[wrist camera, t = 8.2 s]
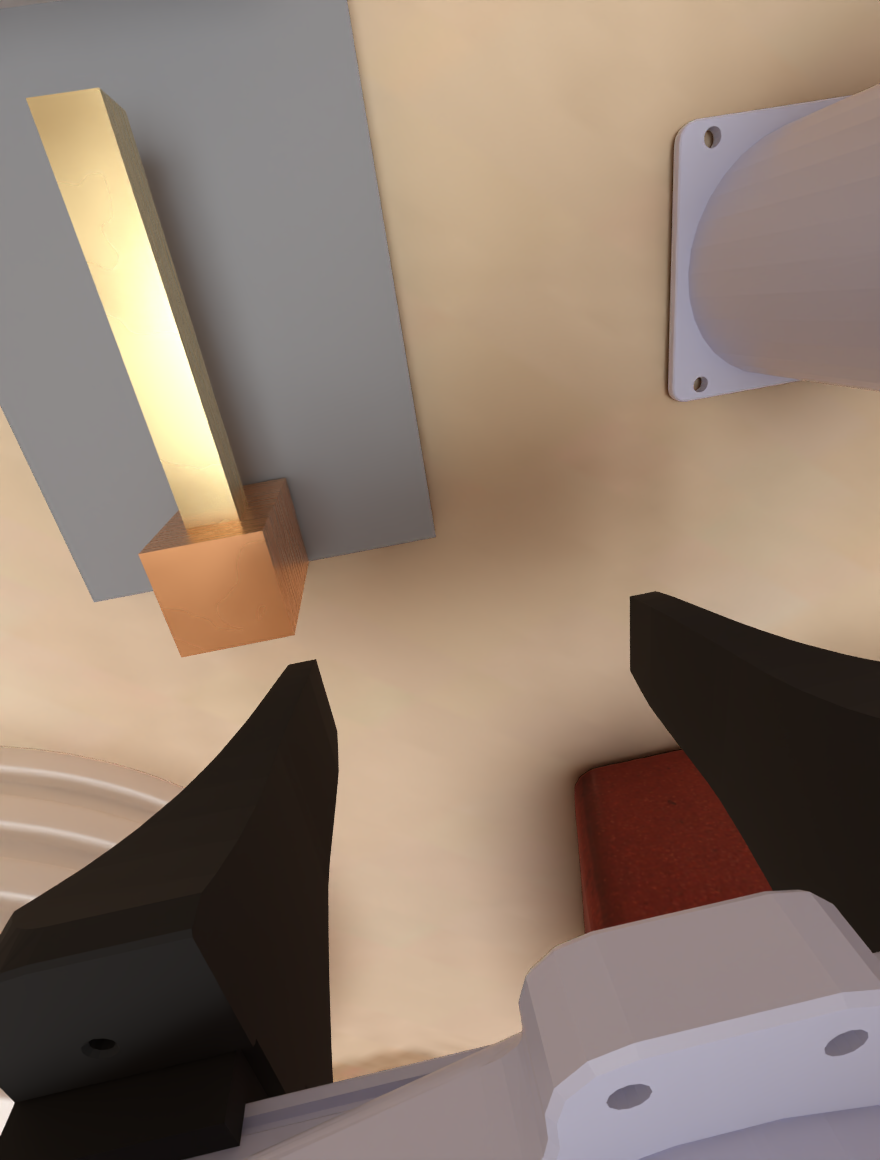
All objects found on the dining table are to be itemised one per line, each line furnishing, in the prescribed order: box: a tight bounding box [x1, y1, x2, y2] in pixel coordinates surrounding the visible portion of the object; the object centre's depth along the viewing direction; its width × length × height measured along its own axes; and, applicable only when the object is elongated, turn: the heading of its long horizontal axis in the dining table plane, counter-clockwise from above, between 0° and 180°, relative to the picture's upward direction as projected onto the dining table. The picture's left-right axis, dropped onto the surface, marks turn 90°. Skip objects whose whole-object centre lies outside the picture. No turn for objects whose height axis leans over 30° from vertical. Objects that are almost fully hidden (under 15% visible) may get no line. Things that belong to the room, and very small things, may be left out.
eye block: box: [0, 0, 436, 602], centre depth 13 cm, size 12×20×7 cm, turn 9°
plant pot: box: [575, 750, 773, 934], centre depth 23 cm, size 19×19×17 cm
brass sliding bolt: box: [26, 88, 309, 657], centre depth 15 cm, size 3×12×5 cm, turn 9°
